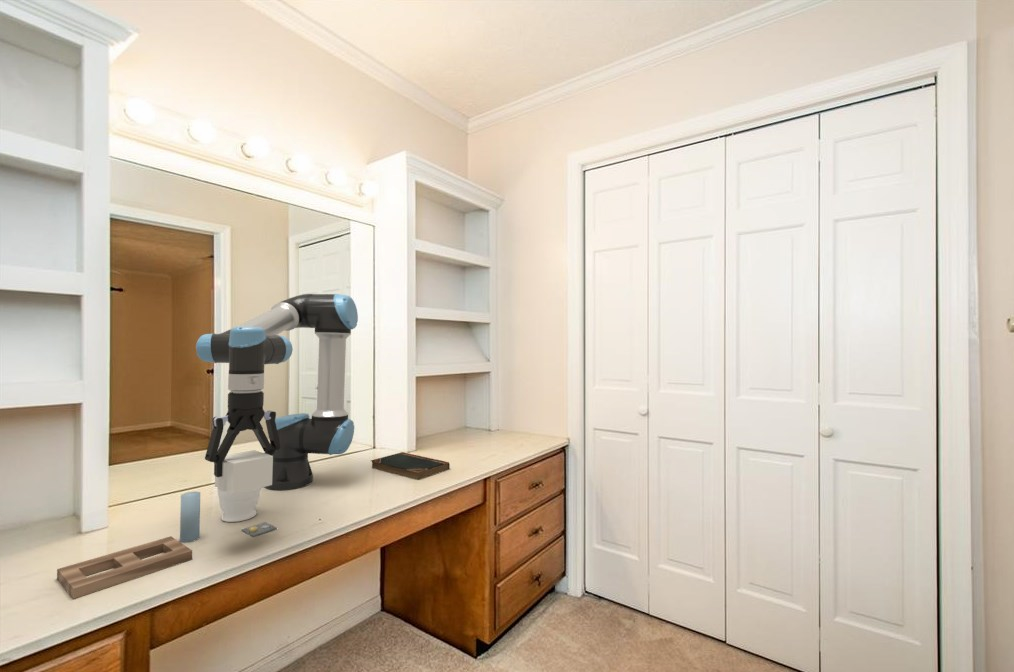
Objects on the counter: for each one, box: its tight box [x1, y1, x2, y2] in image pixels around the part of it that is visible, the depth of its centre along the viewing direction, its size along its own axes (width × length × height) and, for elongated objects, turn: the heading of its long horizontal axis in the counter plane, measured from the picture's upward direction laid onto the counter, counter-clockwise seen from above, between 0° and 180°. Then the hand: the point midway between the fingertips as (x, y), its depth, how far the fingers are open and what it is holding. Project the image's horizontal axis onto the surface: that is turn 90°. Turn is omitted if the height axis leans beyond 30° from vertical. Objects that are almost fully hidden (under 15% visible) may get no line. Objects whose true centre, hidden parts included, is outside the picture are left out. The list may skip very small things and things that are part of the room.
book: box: [370, 451, 451, 481], centre depth 179 cm, size 17×4×25 cm
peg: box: [179, 491, 201, 543], centre depth 115 cm, size 4×4×11 cm
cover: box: [214, 449, 273, 494], centre depth 112 cm, size 9×9×7 cm
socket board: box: [56, 535, 193, 600], centre depth 100 cm, size 12×20×2 cm, turn 145°
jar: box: [217, 488, 262, 523], centre depth 129 cm, size 11×10×15 cm
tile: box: [241, 521, 278, 538], centre depth 121 cm, size 6×6×1 cm
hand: (243, 484), depth 112 cm, fingers closed on cover, 9 cm apart
